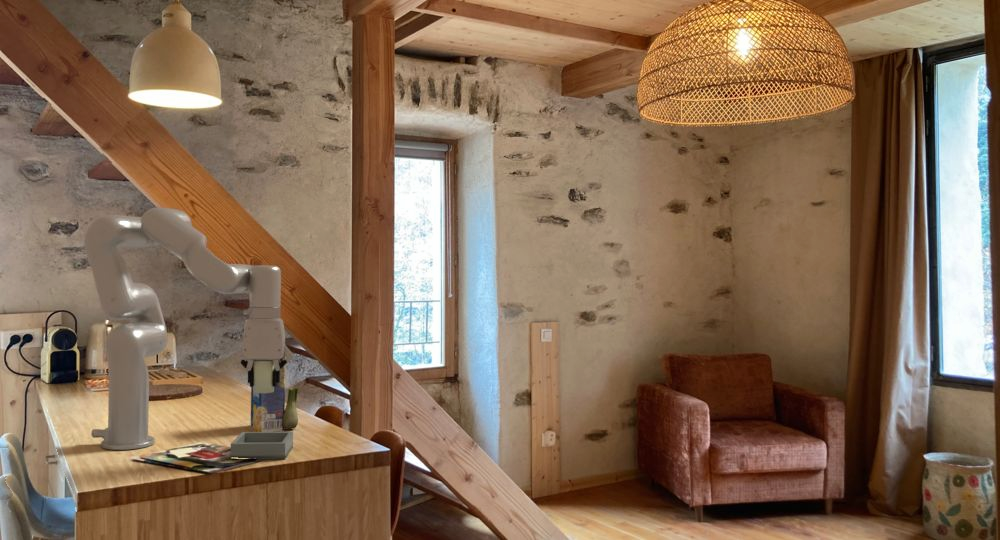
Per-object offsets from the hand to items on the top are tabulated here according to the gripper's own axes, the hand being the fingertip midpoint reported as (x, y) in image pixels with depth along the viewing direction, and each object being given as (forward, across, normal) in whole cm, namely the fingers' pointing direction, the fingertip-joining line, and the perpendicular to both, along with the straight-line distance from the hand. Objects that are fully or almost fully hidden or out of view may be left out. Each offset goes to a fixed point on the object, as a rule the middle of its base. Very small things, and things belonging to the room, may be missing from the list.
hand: (263, 385), depth 198 cm
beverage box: (+18, -4, +30) cm, 35 cm away
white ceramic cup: (+2, 0, 0) cm, 2 cm away
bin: (+17, 0, 0) cm, 17 cm away
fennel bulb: (+17, +2, +28) cm, 33 cm away
